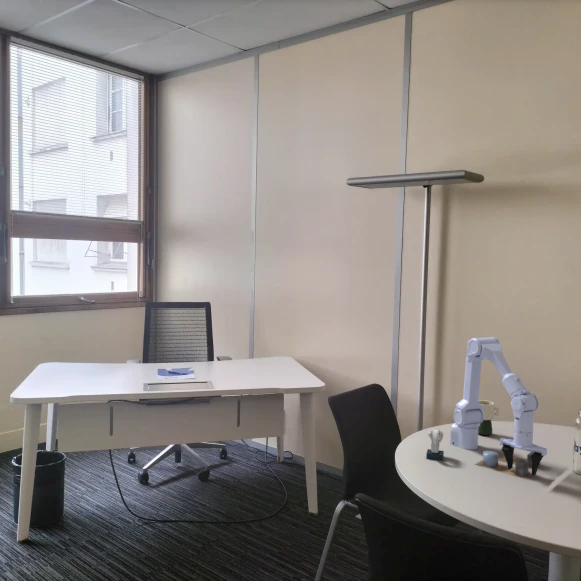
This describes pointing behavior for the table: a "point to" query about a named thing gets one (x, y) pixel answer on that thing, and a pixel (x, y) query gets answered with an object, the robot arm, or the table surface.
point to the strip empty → (516, 459)
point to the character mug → (487, 417)
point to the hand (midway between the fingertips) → (521, 471)
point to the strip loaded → (518, 470)
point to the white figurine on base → (435, 445)
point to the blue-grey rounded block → (490, 459)
